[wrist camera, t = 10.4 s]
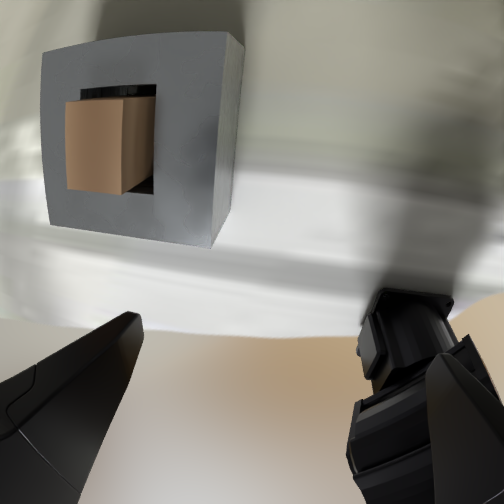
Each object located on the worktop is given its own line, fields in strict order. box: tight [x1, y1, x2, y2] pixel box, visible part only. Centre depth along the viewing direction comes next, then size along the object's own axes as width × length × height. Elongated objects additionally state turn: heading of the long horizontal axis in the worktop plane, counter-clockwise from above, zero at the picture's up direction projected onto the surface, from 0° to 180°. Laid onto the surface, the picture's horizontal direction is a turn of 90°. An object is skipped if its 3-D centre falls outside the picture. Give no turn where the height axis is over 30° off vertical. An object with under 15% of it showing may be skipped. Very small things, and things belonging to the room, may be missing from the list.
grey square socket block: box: [40, 31, 245, 249], centre depth 15 cm, size 10×10×5 cm
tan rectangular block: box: [65, 94, 156, 195], centre depth 15 cm, size 3×4×7 cm
